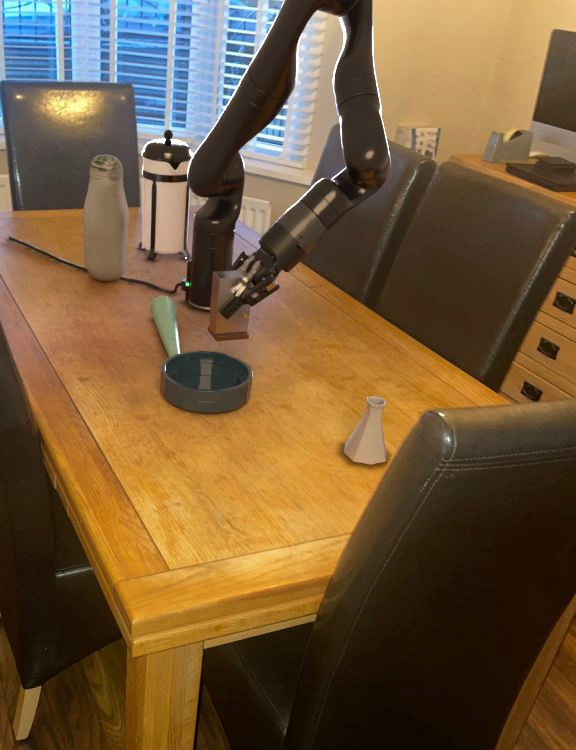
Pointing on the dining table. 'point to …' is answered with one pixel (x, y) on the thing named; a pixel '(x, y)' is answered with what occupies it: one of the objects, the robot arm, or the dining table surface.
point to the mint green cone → (166, 323)
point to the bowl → (206, 381)
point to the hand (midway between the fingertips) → (219, 310)
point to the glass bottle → (105, 220)
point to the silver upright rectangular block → (222, 292)
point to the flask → (368, 435)
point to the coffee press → (165, 196)
